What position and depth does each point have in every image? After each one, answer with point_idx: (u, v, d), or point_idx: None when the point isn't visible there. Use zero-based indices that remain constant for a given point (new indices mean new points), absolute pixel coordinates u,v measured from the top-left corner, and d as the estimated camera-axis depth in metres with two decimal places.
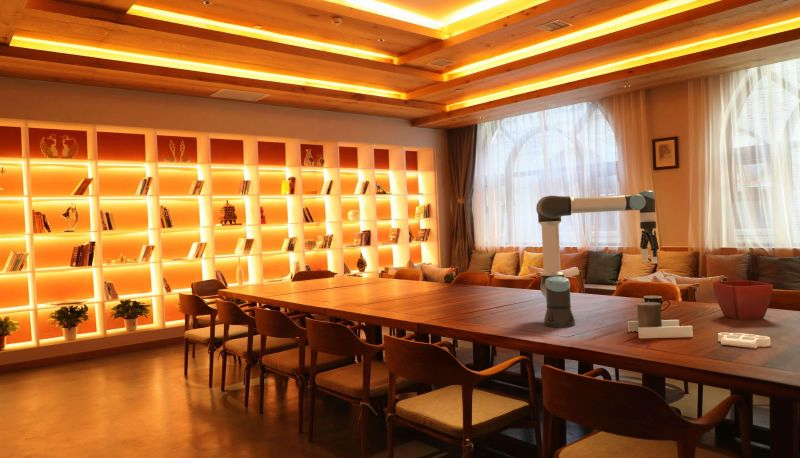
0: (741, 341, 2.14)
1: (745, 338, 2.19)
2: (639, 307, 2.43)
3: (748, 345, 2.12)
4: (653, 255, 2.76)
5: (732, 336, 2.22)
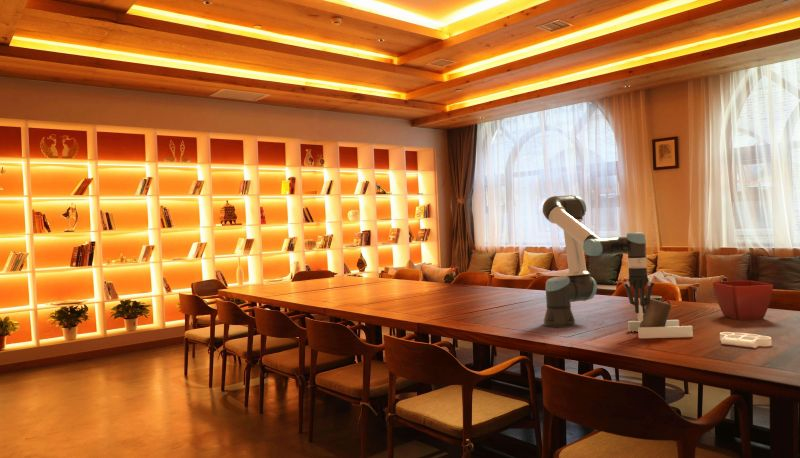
0: (741, 340, 2.15)
1: (746, 338, 2.19)
2: (650, 301, 2.42)
3: (747, 345, 2.12)
4: None
5: (733, 336, 2.23)
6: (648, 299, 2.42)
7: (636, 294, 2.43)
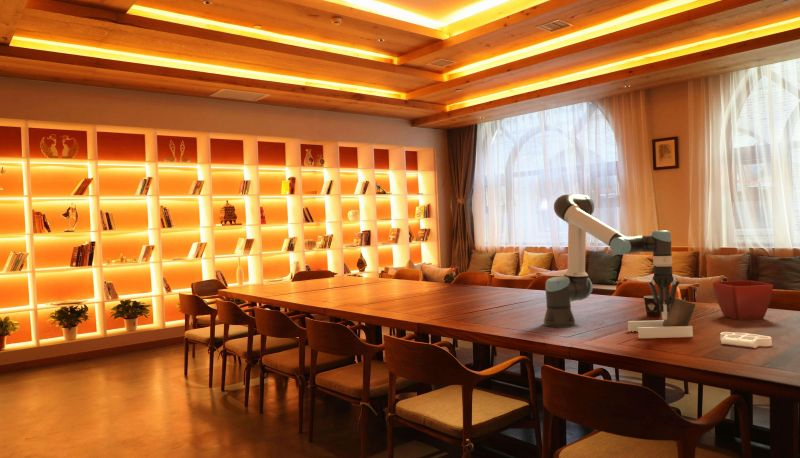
0: (740, 340, 2.15)
1: (746, 338, 2.19)
2: (674, 300, 2.41)
3: (747, 344, 2.13)
4: None
5: (734, 336, 2.23)
6: (673, 298, 2.41)
7: (661, 292, 2.42)
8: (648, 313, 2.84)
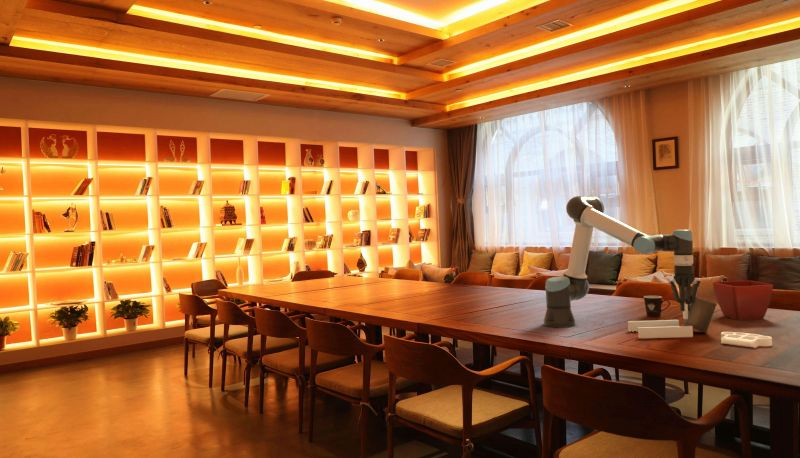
0: (740, 340, 2.15)
1: (747, 338, 2.19)
2: (695, 299, 2.40)
3: (747, 344, 2.13)
4: None
5: (734, 335, 2.23)
6: (693, 297, 2.40)
7: (682, 292, 2.41)
8: (648, 313, 2.84)
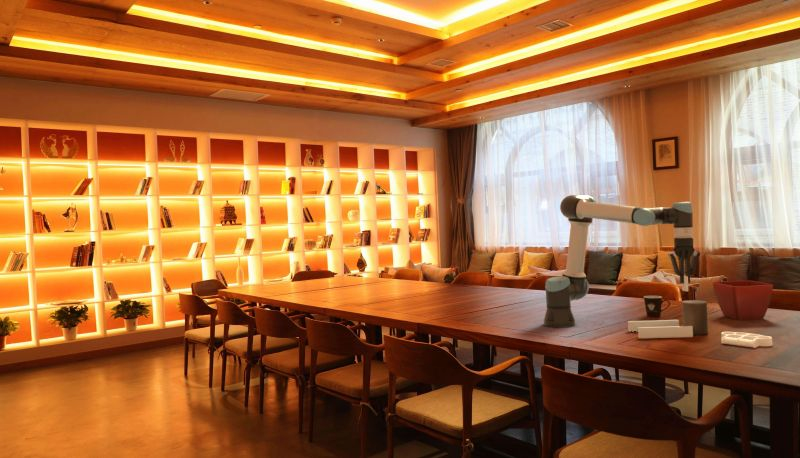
0: (740, 340, 2.16)
1: (747, 337, 2.19)
2: (685, 305, 2.41)
3: (747, 344, 2.13)
4: None
5: (734, 335, 2.23)
6: (694, 269, 2.41)
7: (682, 264, 2.41)
8: (648, 313, 2.84)
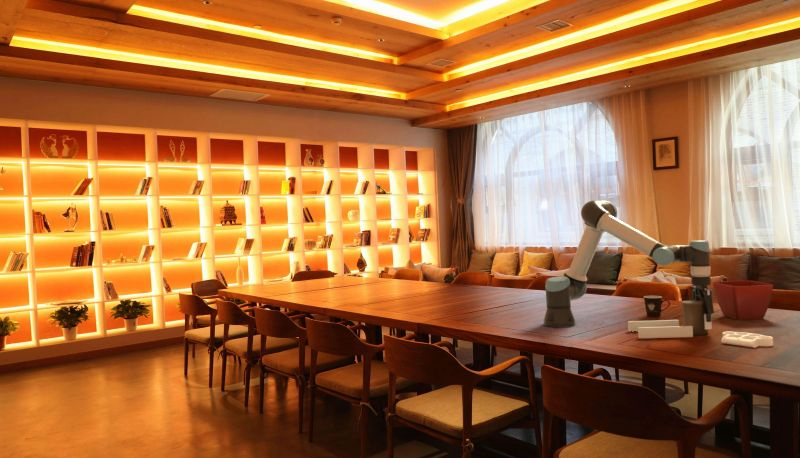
0: (740, 340, 2.16)
1: (747, 337, 2.19)
2: (684, 305, 2.41)
3: (747, 344, 2.13)
4: (707, 320, 2.36)
5: (735, 335, 2.23)
6: None
7: None
8: (648, 313, 2.84)
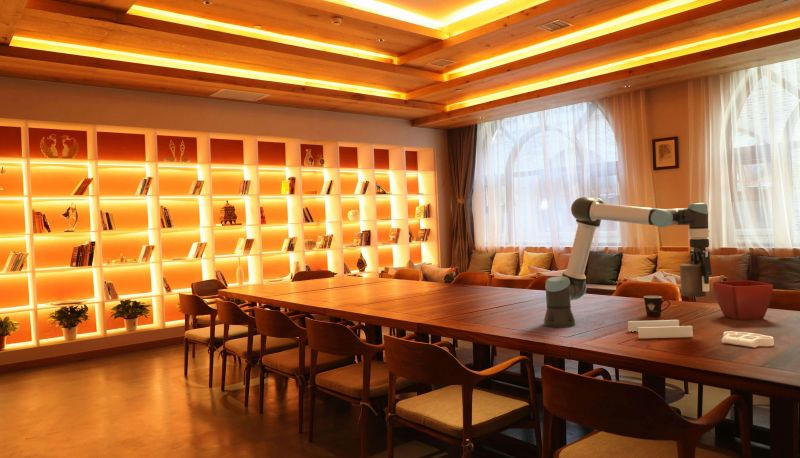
0: (740, 340, 2.16)
1: (748, 337, 2.20)
2: (682, 268, 2.41)
3: (746, 344, 2.14)
4: (704, 282, 2.36)
5: (736, 335, 2.23)
6: None
7: None
8: (648, 313, 2.84)
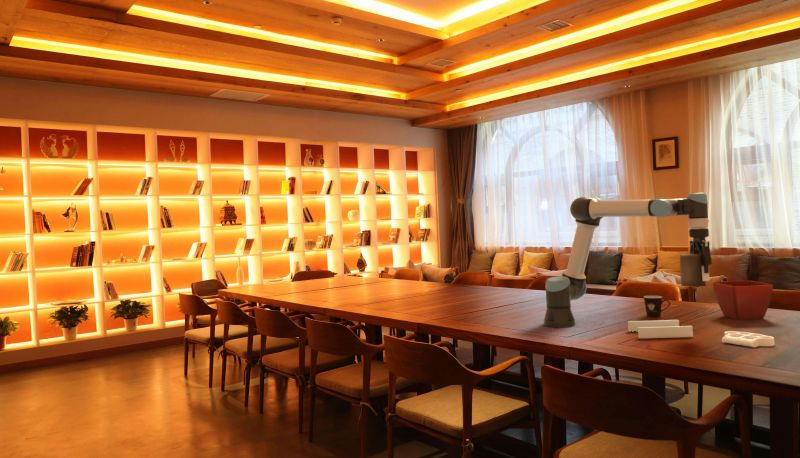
0: (741, 339, 2.17)
1: (749, 337, 2.20)
2: (682, 258, 2.41)
3: (746, 344, 2.14)
4: (704, 271, 2.36)
5: (737, 335, 2.24)
6: None
7: None
8: (648, 313, 2.84)
